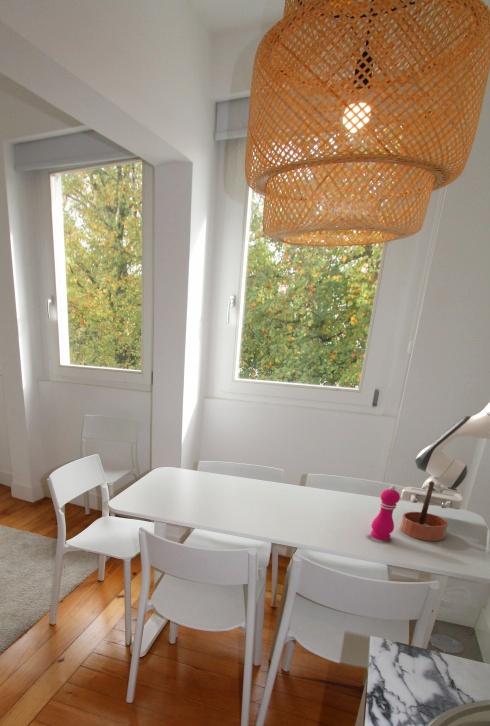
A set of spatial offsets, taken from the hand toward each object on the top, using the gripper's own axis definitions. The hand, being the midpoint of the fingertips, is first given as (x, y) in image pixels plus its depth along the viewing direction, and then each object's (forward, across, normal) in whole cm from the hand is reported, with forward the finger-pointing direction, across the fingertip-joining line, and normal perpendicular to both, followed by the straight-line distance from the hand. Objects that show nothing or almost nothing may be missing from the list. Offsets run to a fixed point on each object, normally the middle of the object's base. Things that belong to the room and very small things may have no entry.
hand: (429, 503), depth 172 cm
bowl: (+5, 0, +11) cm, 12 cm away
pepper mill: (+18, -12, +11) cm, 24 cm away
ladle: (+3, -1, +10) cm, 10 cm away
